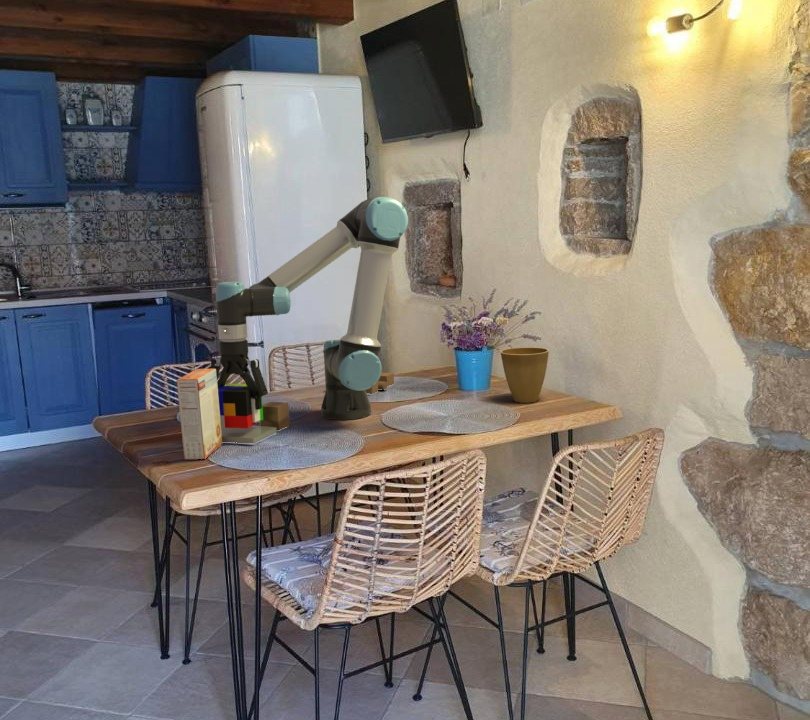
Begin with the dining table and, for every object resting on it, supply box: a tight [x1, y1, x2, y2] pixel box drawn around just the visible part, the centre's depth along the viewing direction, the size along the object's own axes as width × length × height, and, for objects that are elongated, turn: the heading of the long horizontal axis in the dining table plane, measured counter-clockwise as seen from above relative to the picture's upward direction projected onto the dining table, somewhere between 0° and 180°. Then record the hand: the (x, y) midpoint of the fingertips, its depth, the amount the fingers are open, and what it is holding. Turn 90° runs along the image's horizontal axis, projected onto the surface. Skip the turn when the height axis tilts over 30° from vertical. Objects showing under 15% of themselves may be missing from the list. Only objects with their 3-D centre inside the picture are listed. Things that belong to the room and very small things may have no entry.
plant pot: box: [500, 346, 550, 404], centre depth 255 cm, size 15×15×16 cm
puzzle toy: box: [218, 383, 263, 428], centre depth 221 cm, size 10×10×10 cm
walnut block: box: [259, 401, 290, 430], centre depth 232 cm, size 6×6×7 cm
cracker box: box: [176, 368, 223, 461], centre depth 208 cm, size 14×6×21 cm, turn 174°
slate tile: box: [221, 425, 278, 443], centre depth 223 cm, size 16×12×2 cm
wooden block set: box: [365, 371, 395, 394], centre depth 282 cm, size 17×6×18 cm
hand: (238, 419), depth 222 cm, fingers closed on puzzle toy, 10 cm apart
